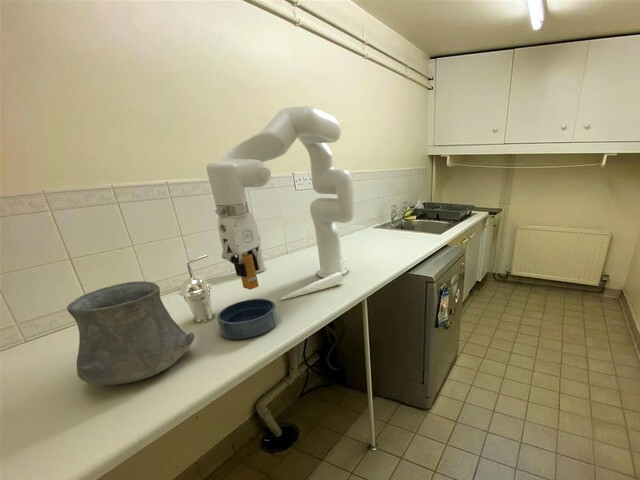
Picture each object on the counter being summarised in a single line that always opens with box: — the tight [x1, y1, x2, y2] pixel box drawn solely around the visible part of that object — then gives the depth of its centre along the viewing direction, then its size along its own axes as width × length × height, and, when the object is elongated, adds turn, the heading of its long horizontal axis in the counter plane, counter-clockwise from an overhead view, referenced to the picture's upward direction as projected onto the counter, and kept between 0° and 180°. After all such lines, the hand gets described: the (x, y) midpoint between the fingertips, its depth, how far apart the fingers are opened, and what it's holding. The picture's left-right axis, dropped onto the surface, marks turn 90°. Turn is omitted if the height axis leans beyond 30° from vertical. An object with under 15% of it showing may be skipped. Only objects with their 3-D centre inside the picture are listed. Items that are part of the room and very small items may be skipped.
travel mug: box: [243, 245, 266, 274], centre depth 134 cm, size 8×8×18 cm
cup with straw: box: [178, 254, 213, 323], centre depth 95 cm, size 8×9×20 cm
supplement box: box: [240, 254, 260, 291], centre depth 90 cm, size 3×3×10 cm
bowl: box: [216, 298, 279, 340], centre depth 92 cm, size 15×15×6 cm
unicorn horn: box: [279, 272, 344, 301], centre depth 115 cm, size 5×24×5 cm, turn 126°
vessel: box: [66, 280, 195, 386], centre depth 72 cm, size 22×22×20 cm
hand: (248, 272), depth 90 cm, fingers closed on supplement box, 4 cm apart
